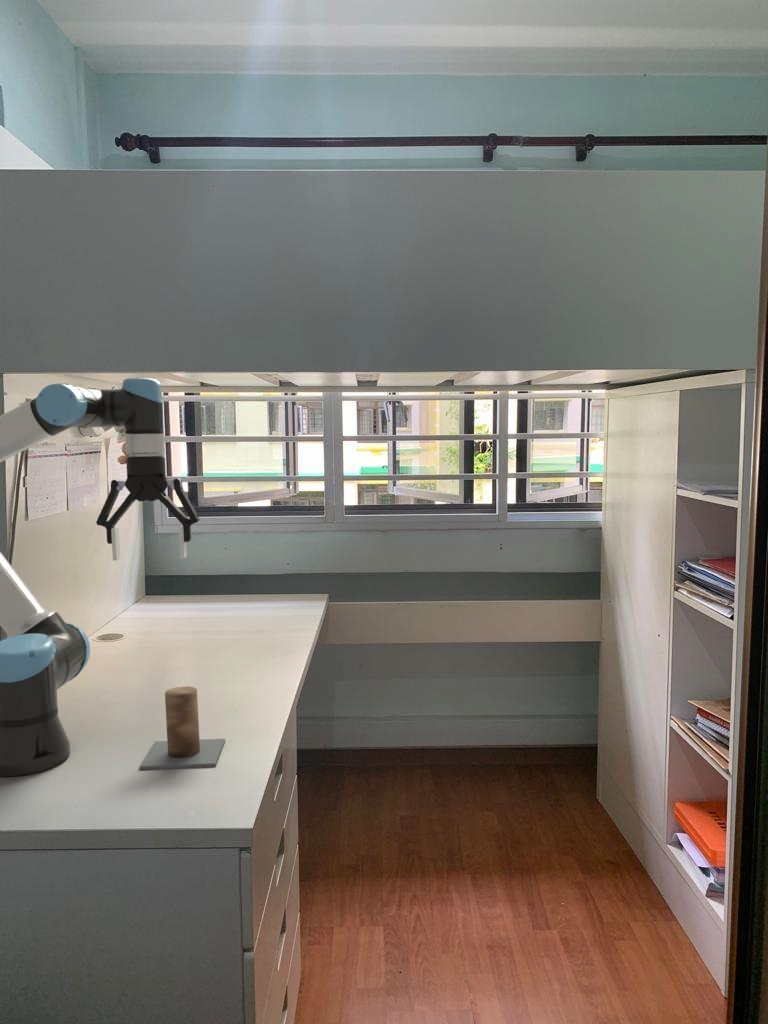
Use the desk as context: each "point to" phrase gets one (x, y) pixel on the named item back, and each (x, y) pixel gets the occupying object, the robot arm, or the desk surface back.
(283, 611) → the desk surface
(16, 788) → the desk surface
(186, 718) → the walnut canister
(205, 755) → the slate mat
